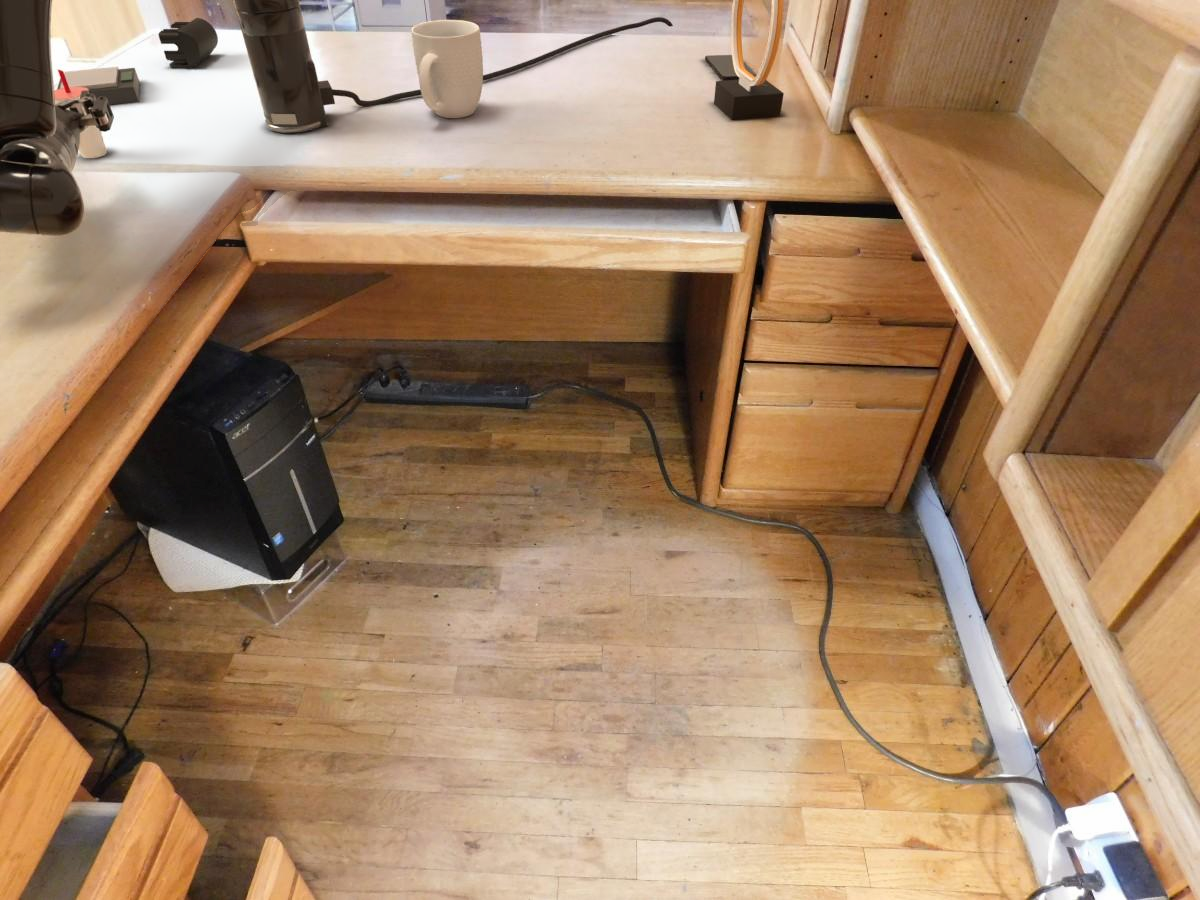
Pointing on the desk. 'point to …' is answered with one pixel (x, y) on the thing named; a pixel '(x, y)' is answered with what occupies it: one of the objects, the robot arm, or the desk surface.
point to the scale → (106, 83)
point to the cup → (90, 136)
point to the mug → (449, 66)
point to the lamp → (751, 92)
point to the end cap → (189, 42)
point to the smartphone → (725, 66)
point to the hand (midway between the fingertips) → (51, 102)
